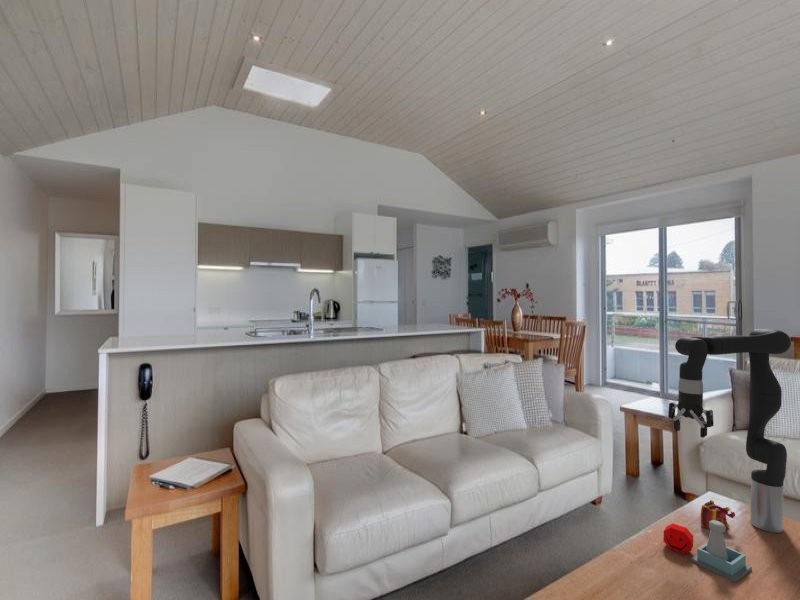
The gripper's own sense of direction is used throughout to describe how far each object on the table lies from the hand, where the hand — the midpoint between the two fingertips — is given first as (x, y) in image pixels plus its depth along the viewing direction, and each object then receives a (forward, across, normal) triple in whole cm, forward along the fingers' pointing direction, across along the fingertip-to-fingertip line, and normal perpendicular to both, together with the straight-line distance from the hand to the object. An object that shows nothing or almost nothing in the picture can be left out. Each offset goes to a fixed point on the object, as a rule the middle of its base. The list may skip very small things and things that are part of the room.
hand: (689, 433), depth 156 cm
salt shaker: (+35, -15, +15) cm, 41 cm away
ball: (+36, -4, +17) cm, 40 cm away
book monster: (+36, -6, -10) cm, 38 cm away
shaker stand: (+36, -16, +14) cm, 42 cm away
